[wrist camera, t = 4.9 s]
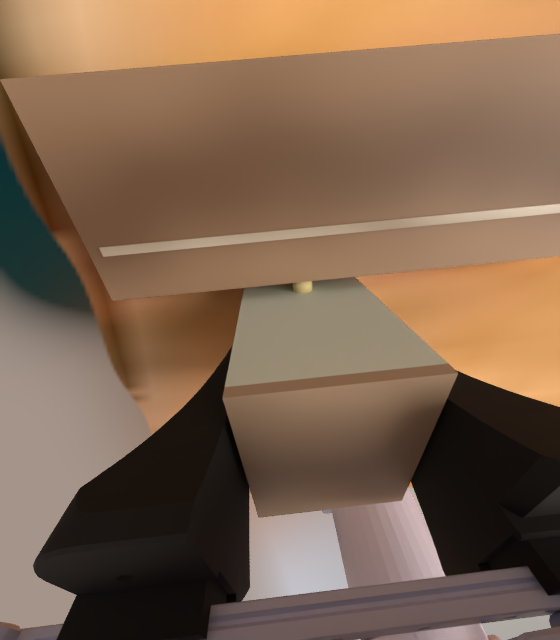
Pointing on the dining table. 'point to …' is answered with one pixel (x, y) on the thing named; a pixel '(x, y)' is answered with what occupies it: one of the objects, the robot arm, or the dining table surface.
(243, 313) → the block
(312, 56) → the tan rectangular bar
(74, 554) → the robot arm
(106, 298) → the dining table surface
